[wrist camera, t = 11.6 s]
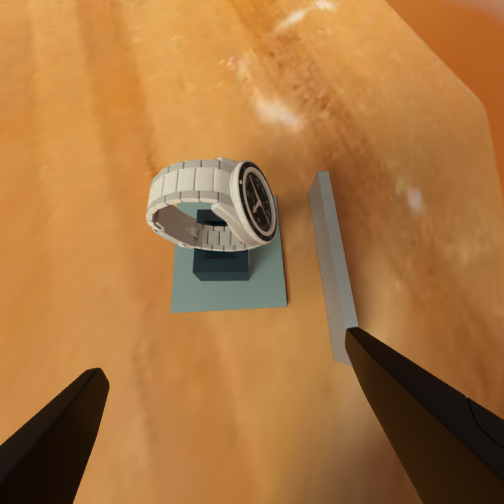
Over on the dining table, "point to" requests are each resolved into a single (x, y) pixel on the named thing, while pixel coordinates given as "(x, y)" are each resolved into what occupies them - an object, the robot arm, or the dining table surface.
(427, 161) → the dining table surface
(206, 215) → the watch
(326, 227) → the acrylic wall
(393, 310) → the dining table surface
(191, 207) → the mat
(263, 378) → the dining table surface
